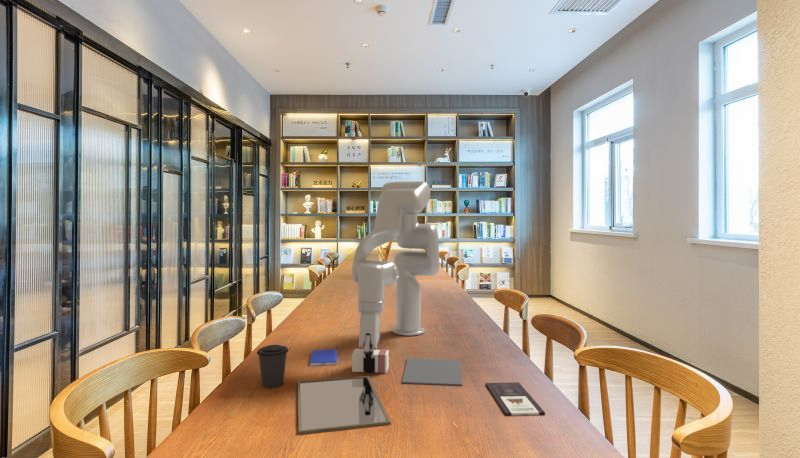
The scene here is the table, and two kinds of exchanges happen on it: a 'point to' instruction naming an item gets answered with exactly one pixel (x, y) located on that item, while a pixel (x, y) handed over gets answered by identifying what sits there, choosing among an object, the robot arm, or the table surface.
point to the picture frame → (339, 405)
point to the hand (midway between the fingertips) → (370, 367)
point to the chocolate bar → (514, 399)
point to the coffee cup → (272, 365)
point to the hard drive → (323, 357)
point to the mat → (432, 372)
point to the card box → (380, 360)
